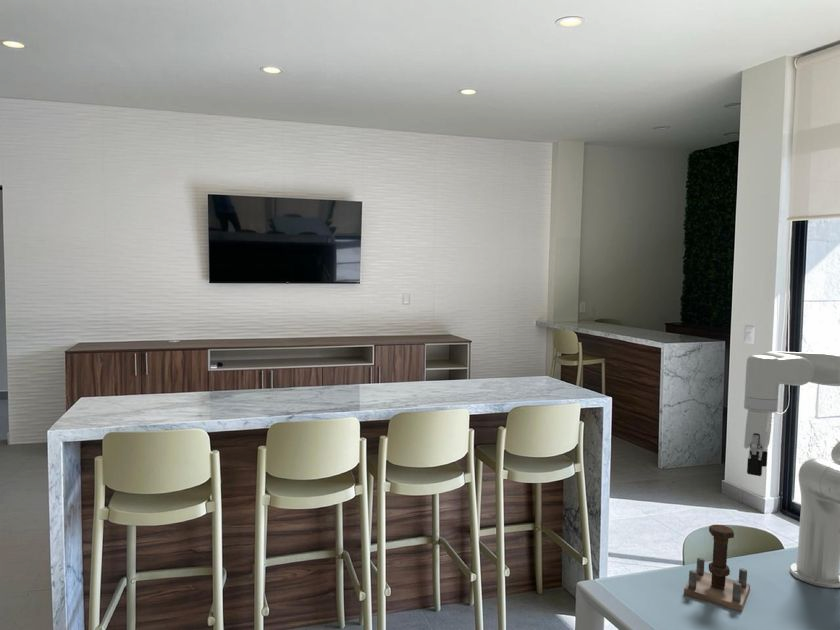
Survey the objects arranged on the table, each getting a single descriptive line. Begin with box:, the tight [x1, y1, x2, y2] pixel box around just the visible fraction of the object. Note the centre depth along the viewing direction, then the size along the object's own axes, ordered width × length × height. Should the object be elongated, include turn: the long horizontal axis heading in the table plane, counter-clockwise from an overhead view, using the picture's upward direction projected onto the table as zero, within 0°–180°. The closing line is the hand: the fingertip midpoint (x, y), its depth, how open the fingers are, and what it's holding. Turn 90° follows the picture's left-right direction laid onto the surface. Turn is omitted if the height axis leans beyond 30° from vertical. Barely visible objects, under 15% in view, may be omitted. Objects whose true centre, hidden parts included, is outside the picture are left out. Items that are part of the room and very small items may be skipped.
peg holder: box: [683, 557, 751, 612], centre depth 159 cm, size 13×13×6 cm
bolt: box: [708, 524, 735, 589], centre depth 159 cm, size 6×5×15 cm
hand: (756, 470), depth 162 cm, fingers open, 9 cm apart
